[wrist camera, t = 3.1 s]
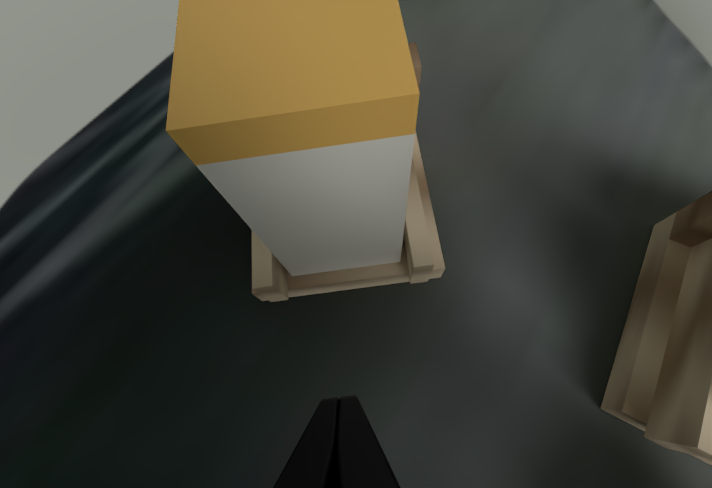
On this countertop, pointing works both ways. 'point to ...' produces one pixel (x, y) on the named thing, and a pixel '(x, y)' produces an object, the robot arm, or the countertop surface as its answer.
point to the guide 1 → (414, 267)
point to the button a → (301, 122)
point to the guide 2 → (670, 338)
